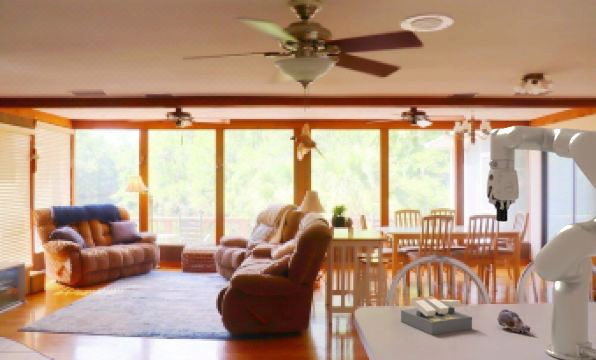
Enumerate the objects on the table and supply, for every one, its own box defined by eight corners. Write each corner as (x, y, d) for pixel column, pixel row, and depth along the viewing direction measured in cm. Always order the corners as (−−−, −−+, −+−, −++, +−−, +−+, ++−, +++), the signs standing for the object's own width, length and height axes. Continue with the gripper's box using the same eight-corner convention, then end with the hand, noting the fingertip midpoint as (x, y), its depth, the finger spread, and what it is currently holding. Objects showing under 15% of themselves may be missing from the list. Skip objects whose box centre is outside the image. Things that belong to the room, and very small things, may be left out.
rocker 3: (461, 306, 180) (460, 300, 180) (453, 307, 179) (452, 301, 179) (444, 305, 188) (443, 299, 189) (436, 306, 187) (435, 300, 187)
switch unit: (472, 328, 177) (472, 312, 177) (431, 334, 170) (432, 318, 170) (439, 316, 193) (439, 301, 193) (401, 321, 186) (401, 306, 186)
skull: (535, 335, 171) (535, 316, 171) (515, 336, 169) (515, 317, 169) (512, 324, 183) (512, 307, 183) (493, 326, 181) (493, 308, 181)
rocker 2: (447, 312, 178) (448, 307, 178) (439, 314, 177) (440, 308, 176) (431, 301, 186) (432, 296, 186) (423, 302, 185) (424, 296, 184)
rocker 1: (434, 315, 176) (436, 309, 176) (426, 316, 175) (427, 310, 174) (418, 302, 184) (420, 296, 183) (410, 303, 182) (411, 297, 182)
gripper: (493, 165, 166) (493, 222, 166) (528, 166, 172) (527, 221, 172) (476, 165, 173) (476, 221, 173) (510, 166, 179) (509, 219, 179)
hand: (501, 221), depth 172 cm, fingers closed
